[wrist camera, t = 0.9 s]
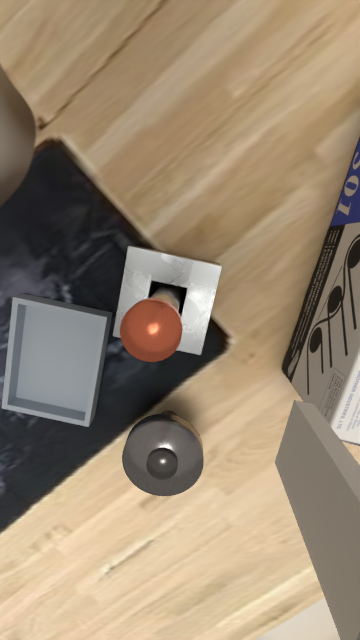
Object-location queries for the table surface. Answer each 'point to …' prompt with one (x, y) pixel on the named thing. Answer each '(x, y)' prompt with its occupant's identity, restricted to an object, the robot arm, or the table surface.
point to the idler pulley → (163, 454)
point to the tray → (55, 359)
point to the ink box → (333, 322)
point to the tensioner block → (173, 270)
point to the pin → (154, 325)
